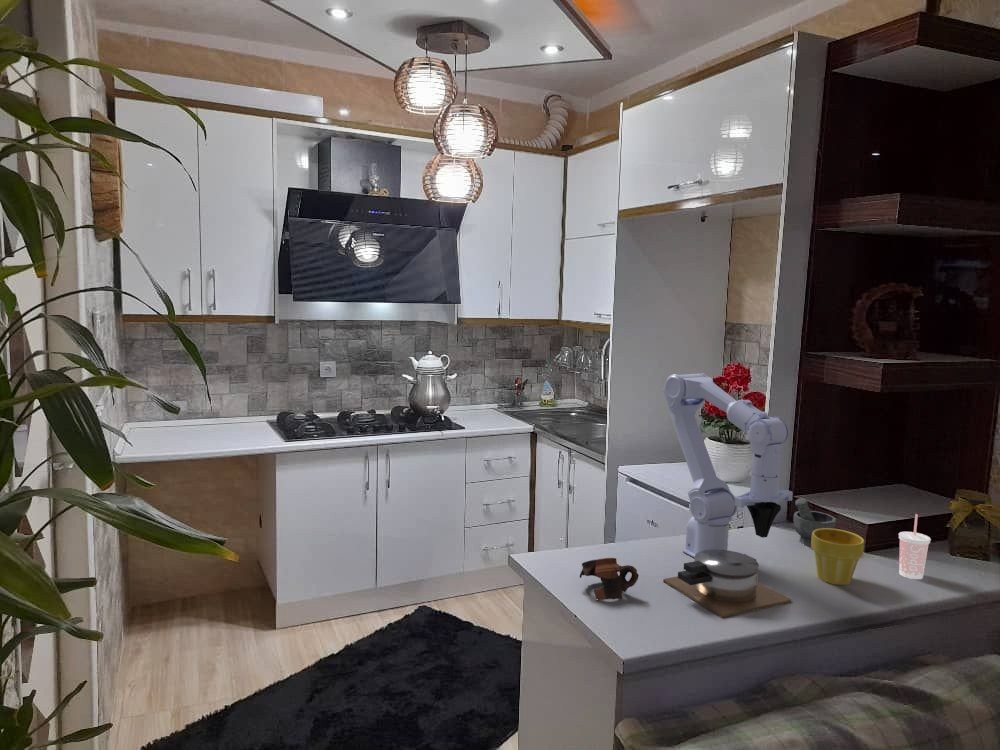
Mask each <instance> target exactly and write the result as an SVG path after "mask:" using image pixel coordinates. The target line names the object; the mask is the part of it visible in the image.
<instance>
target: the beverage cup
mask: <svg viewBox="0 0 1000 750" xmlns="http://www.w3.org/2000/svg"><path fill="white" fill-rule="evenodd" d="M914 514H915V516H914V525H913V531H900V532H899V533H898V539H899V563H898V565H899V566H898V569H899V570H898V574H899V575H900V576H902V577H904V578H906V577H907V579H911V580H922V579H923V578H924V573H925V567H926V561H927V557H928V556H927V555H928V548H929V544H931V541H932V539H931V537H930V536H928V535H926V534H923V533H920V532H917V526H918V517H919V516H918V514H917V513H914Z"/></svg>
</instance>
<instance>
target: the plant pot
mask: <svg viewBox="0 0 1000 750" xmlns="http://www.w3.org/2000/svg"><path fill="white" fill-rule="evenodd" d="M810 548H811V549H812V550H813V553H814V559H815V560H814V561H815V567H816V575H817V578H818V579H820V580H821V581H822V582H825V583H828V584H830V585H831V584H832V585H839V586H846V585H849V584H850V583H851V582H852V579H853V576H854V573H855V570H856V568H857V565H858V562H859V559H861V558H862V557H863V556H864V549H865V539H864V538H863V537H862V536H861V535H858V534H857V533H854V532H851V531H847V530H844V529H838V528H834V529H831V528H821V529H816V530H814V531H813V532H812V537H811V547H810Z"/></svg>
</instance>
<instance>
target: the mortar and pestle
mask: <svg viewBox="0 0 1000 750" xmlns="http://www.w3.org/2000/svg"><path fill="white" fill-rule="evenodd" d="M794 504H795V506H796V507H797V509H798V511H795V512H794V514H793V519H792V521H793V528H794V529H795V531H796V533H797V534H798V535H799V537H800V538H799V543H800V542H801V543H802V545H803V544H804V546H806V545H807V547H809V546H811V537H812V532H813V531H814V530H816V529H821V528H831V529H835V527H836V522H837V521H836V520H837V518H836V517H834V516H832V515H831V514H829V513H825V512H821V511H817V510H811V509H810V507H809V505H808V500H807V499H806V498H804V497H800V498H797V499H796V500H795V503H794ZM801 543H800V544H801Z"/></svg>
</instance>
